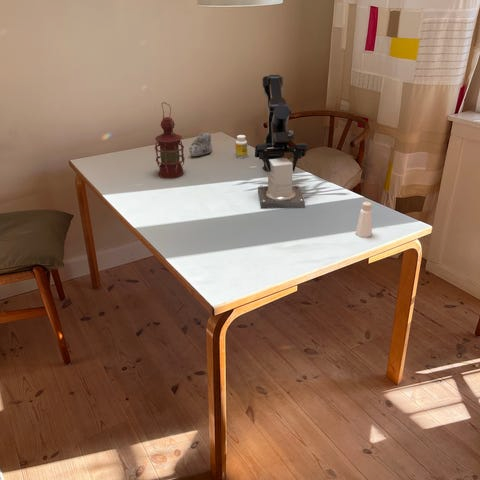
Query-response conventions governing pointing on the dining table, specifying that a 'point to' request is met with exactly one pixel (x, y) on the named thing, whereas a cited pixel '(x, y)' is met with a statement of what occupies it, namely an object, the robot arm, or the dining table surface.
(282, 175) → the supplement box
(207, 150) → the mineral rock
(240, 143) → the supplement bottle
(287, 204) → the motor mount
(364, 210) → the pepper shaker
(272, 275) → the dining table surface
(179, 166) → the lantern
